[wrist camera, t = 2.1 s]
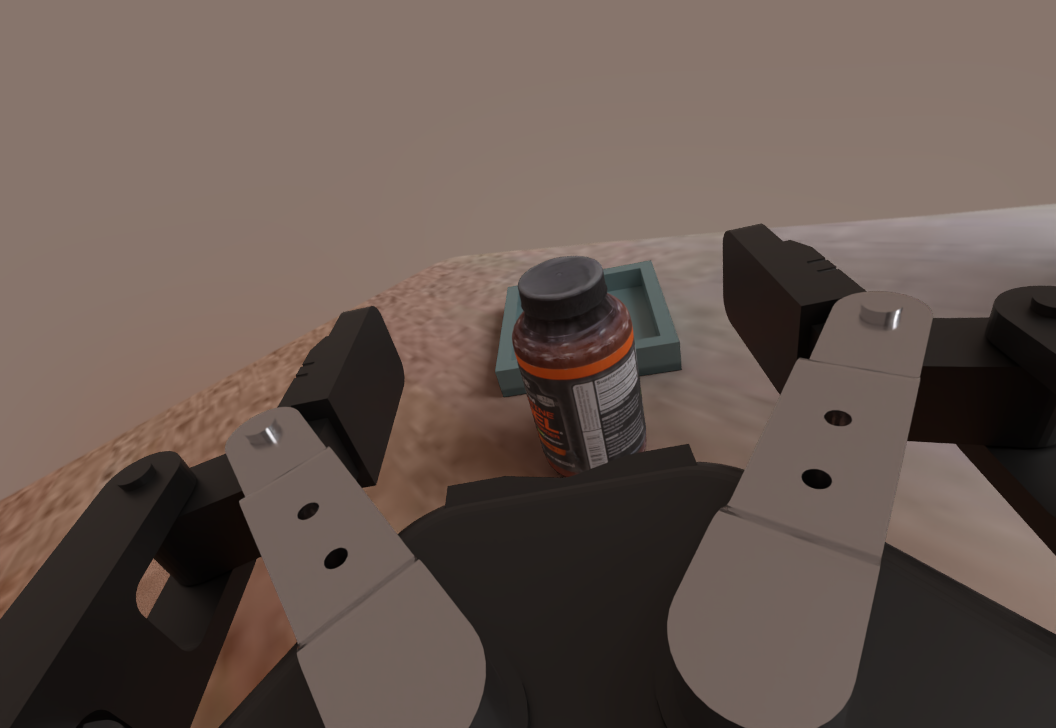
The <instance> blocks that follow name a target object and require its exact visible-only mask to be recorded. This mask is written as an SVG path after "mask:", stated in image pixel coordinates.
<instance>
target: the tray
mask: <svg viewBox="0 0 1056 728" xmlns="http://www.w3.org/2000/svg"><path fill="white" fill-rule="evenodd" d="M603 272H604V278H605V283H606V285H607V288H608V290H607V293H609V294H611V295H613V296H615V297H616V298H618V299H619V300H620V301H621V302H622V303H623V304H624V305H625V306H626V308H627V309H628V311H629V314H630V317H631V321H632V327H633V335H634V341H635V348H636V356H637V363H638V371H639V376H643V375H649V374H656V373H662V372H669V371H675V370H682V369H681V355H680V342H679V339H678V336H677V333H676V330H675V328H674V325H673V322H672V319H671V316H670V313H669V310H668V308H667V305H666V302H665V299H664V296H663V293H662V290H661V287H660V285H659V282H658V279H657V276H656V273H655V270H654V267H653V265H652V262H651V260H650V261H645V262H639V263H634V264H629V265H623V266H618V267H613V268H608V269H603ZM522 312H523V309H522V308H521V300H520V296H519V290H518V285H517V286H512V287H508V290H507V296H506V303H505V310H504V316H503V323H502V330H501V336H500V343H499V349H498V356H497V363H496V369H495V373H496V376H497V379H498V382H499V385H500V388H501V391H502V394H503V397H506V396H513V395H519V394H526V390H525V387H524V383H523V380H522V376H521V373H520V369H519V367H518V363H517V359H516V355H515V351H514V348H513V343H512V332H513V328H514V325H515V323H516V321H517V319H518V318H519V316H520V315H521V314H522Z"/></svg>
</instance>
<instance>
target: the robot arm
mask: <svg viewBox="0 0 1056 728" xmlns="http://www.w3.org/2000/svg"><path fill="white" fill-rule="evenodd" d="M723 298H724V305H725V310H726V313H727V316H728V319H729V321H730V323H731V324H732V326H733V327H734V328H735V330H736V331H737V333H738V334H739V336H740V337H741V339H742V340H743V342H744V343H745V344H746V346H747V347H748V349H749V350H750V352H751V353H752V355H753V356H754V358H755V359H756V361H757V362H758V363H759V365H760V366H761V368H762V369H763V371H764V372H765V374H766V375H767V377H768V378H769V379H770V381H771V382H772V384H773V385H774V387H775V388H776V390H777V391H778V393H779V394H780V397H779V399H778V401H777V403H776V405H775V407H774V409H773V412H772V414H771V416H770V418H769V420H768V422H767V424H766V426H765V428H764V430H763V433H762V435H761V437H760V439H759V441H758V443H757V445H756V447H755V449H754V452H753V454H752V456H751V458H750V460H749V462H748V464H747V466H746V468H745V470H743V469H740V468H737V467H732V466H728V465H723V464H716V463H708V462H696V460H695V458H694V456H693V453H692V451H691V448H690V446H689V444H685V445H680V446H674V447H668V448H663V449H657V450H651V451H646V452H640V453H634V454H629V455H625V456H623V457H620V458H618V459H615V460H612V461H610V462H607V463H605V464H602V465H599V466H597V467H594V468H592V469H589V470H586V471H584V472H581V473H579V474H576V475H573V476H570V477H565V478H551V477H515V476H503V477H498V478H492V479H486V480H480V481H475V482H469V483H463V484H458V485H452V486H448V488H447V496H446V504H445V506H442V507H440V508H438V509H436V510H434V511H432V512H430V513H428V514H426V515H424V516H422V517H421V518H419V519H417V520H416V521H414V522H413V523H411V524H410V525H409V526H407V527H406V528H405V529H403V530H402V531H401V532H400V533H399V534H397V533H396V532H395V531H394V529H393V528H392V527H391V526H390V524H389V523H388V522H387V520H386V519H385V518H384V516H383V515H382V514H381V513H380V511H379V510H378V509H377V507H376V506H375V505H374V503H373V502H372V501H371V500H370V498H369V497H368V496H367V494H366V493H365V492H364V490H363V489H362V488H364V487H370V486H375V485H376V483H377V480H378V476H379V473H380V469H381V466H382V462H383V458H384V455H385V451H386V448H387V444H388V441H389V437H390V433H391V430H392V426H393V423H394V419H395V416H396V412H397V409H398V405H399V401H400V398H401V394H402V391H403V387H404V370H403V366H402V362H401V360H400V357H399V355H398V353H397V350H396V348H395V346H394V343H393V341H392V339H391V336H390V334H389V332H388V329H387V327H386V325H385V323H384V320H383V318H382V316H381V314H380V312H379V310H378V309H377V308H376V307H374V306H371V307H366V308H361V309H357V310H352V311H347V312H343V313H341V315H340V316H339V318H338V320H337V322H336V324H335V326H334V327H333V329H332V331H331V333H330V335H329V336H327V337H325V338H324V339H323V340H321V341H320V342H319V343H318V344H317V345H316V346H315V347H314V348H313V349H311V350H310V352H309V354H308V355H307V357H306V359H305V361H304V362H303V364H302V365H303V367H300V369H299V371H298V373H297V374H296V378H294V380H293V381H292V383H291V385H290V386H289V388H288V390H287V392H286V393H285V395H284V397H283V399H282V400H281V402H280V404H279V406H278V407H277V408H274V409H270V410H267V411H265V412H262V413H260V414H258V415H256V416H254V417H252V418H251V419H249V420H247V421H246V422H245V423H243V424H242V425H241V426H239V427H238V428H237V429H236V430H235V431H234V432H233V433H232V435H231V436H230V437H229V439H228V440H227V442H226V445H225V452H226V454H224V455H221V456H219V457H216V458H214V459H211V460H209V461H206V462H204V463H201V464H199V465H196V466H193V467H191V468H189V467H188V465H187V464H186V463H185V462H184V461H183V459H182V458H181V457H180V456H179V455H178V454H177V453H175V452H172V451H164V452H158V453H155V454H152V455H149V456H146V457H144V458H142V459H140V460H138V461H136V462H134V463H132V464H131V465H129V466H127V467H126V468H124V469H123V470H122V471H120V472H119V473H118V474H116V475H115V476H114V477H113V478H112V479H111V480H110V481H109V482H108V483H107V484H106V485H105V486H104V487H103V488H102V490H101V491H100V492H99V494H98V495H97V496H96V497H95V499H94V500H93V501H92V502H91V504H90V505H89V506H88V508H87V509H86V510H85V511H84V513H83V514H82V515H81V517H80V518H79V519H78V520H77V522H76V523H75V524H74V526H73V527H72V528H71V529H70V531H69V532H68V533H67V535H66V536H65V537H64V538H63V540H62V541H61V542H60V543H59V545H58V546H57V547H56V549H55V550H54V551H53V552H52V554H51V555H50V556H49V558H48V559H47V560H46V561H45V563H44V564H43V565H42V567H41V568H40V569H39V570H38V572H37V573H36V574H35V576H34V577H33V578H32V579H31V581H30V582H29V583H28V585H27V586H26V587H25V588H24V590H23V591H22V592H21V593H20V595H19V596H18V597H17V599H16V600H15V601H14V602H13V604H12V605H11V606H10V608H9V609H8V610H7V611H6V613H5V614H4V615H3V617H2V618H1V619H0V728H190V727H191V724H192V722H193V719H194V716H195V714H196V711H197V709H198V706H199V704H200V701H201V699H202V696H203V694H204V691H205V689H206V686H207V684H208V681H209V679H210V676H211V674H212V671H213V669H214V666H215V663H216V661H217V658H218V656H219V653H220V651H221V648H222V646H223V643H224V641H225V638H226V636H227V633H228V631H229V628H230V626H231V623H232V621H233V618H234V616H235V613H236V611H237V608H238V605H239V603H240V600H241V598H242V595H243V593H244V590H245V588H246V585H247V583H248V580H249V578H250V575H251V573H252V570H253V568H254V565H255V562H256V559H257V558H259V557H262V558H263V561H264V563H265V566H266V568H267V570H268V573H269V575H270V577H271V580H272V582H273V585H274V587H275V589H276V592H277V594H278V596H279V599H280V601H281V603H282V606H283V608H284V611H285V613H286V615H287V618H288V620H289V622H290V625H291V627H292V630H293V632H294V634H295V637H296V640H297V643H296V644H295V645H294V646H293V647H292V648H291V649H290V650H289V651H288V652H287V654H286V655H285V656H284V657H283V658H282V659H281V660H280V661H279V662H278V663H277V664H276V666H275V667H274V668H273V669H272V670H271V671H270V672H269V673H268V674H267V675H266V676H265V677H264V679H263V680H262V681H261V682H260V683H259V684H258V685H257V686H256V687H255V688H254V689H253V691H252V692H251V693H250V694H249V695H248V696H247V697H246V698H245V699H244V700H243V701H242V703H241V704H240V705H239V706H238V707H237V708H236V709H235V710H234V711H233V712H232V713H231V714H230V716H229V717H228V718H227V719H226V720H225V721H224V722H223V723H222V724H221V725H220V726H219V728H1056V634H1054V633H1052V632H1050V631H1048V630H1046V629H1045V628H1043V627H1041V626H1039V625H1037V624H1035V623H1033V622H1032V621H1030V620H1028V619H1026V618H1024V617H1022V616H1021V615H1019V614H1017V613H1015V612H1013V611H1011V610H1009V609H1008V608H1006V607H1004V606H1002V605H1000V604H998V603H997V602H995V601H993V600H991V599H989V598H987V597H985V596H984V595H982V594H980V593H978V592H976V591H974V590H973V589H971V588H969V587H967V586H965V585H963V584H962V583H960V582H958V581H956V580H954V579H952V578H950V577H949V576H947V575H945V574H943V573H941V572H939V571H938V570H936V569H934V568H932V567H930V566H928V565H926V564H925V563H923V562H921V561H919V560H917V559H915V558H914V557H912V556H910V555H908V554H906V553H904V552H903V551H901V550H899V549H897V548H895V547H893V546H891V545H890V544H888V543H886V542H885V539H886V535H887V530H888V526H889V521H890V516H891V512H892V507H893V503H894V498H895V493H896V489H897V484H898V480H899V475H900V470H901V466H902V461H903V457H904V452H905V448H906V443H907V441H917V442H934V443H952V444H956V445H957V446H958V447H959V449H960V450H961V451H962V452H963V453H964V454H965V455H966V456H967V457H968V459H969V460H970V461H971V462H972V463H973V464H974V465H975V466H976V467H977V469H978V470H979V471H980V472H981V473H982V474H983V475H984V476H985V477H986V479H987V480H988V481H989V482H990V483H991V484H992V485H993V486H994V487H995V489H996V490H997V491H998V492H999V493H1000V494H1001V495H1002V496H1003V498H1004V499H1005V500H1006V501H1007V502H1008V503H1009V504H1010V505H1011V506H1012V508H1013V509H1014V510H1015V511H1016V512H1017V513H1018V514H1019V515H1020V516H1021V518H1022V519H1023V520H1024V521H1025V522H1026V523H1027V524H1028V525H1029V526H1030V528H1031V529H1032V530H1033V531H1034V532H1035V533H1036V534H1037V535H1038V536H1039V538H1040V539H1041V540H1042V541H1043V542H1044V543H1045V544H1046V545H1047V546H1048V548H1049V549H1050V550H1051V551H1052V552H1053V553H1054V554H1055V555H1056V286H1027V287H1020V288H1015V289H1011V290H1008V291H1006V292H1004V293H1002V294H1000V295H999V296H998V297H997V298H996V299H995V301H994V305H993V308H992V311H991V314H990V317H989V318H933V313H932V311H931V309H930V308H929V307H928V306H927V305H926V304H925V303H923V302H922V301H920V300H918V299H916V298H913V297H911V296H907V295H904V294H899V293H893V292H883V291H870V292H867V291H865V290H864V289H863V288H862V287H860V286H859V285H858V284H857V283H855V282H854V281H853V280H852V279H851V278H849V277H848V276H847V275H846V274H844V273H843V272H842V271H841V270H839V269H836V266H835V265H833V264H832V263H831V262H830V261H828V260H825V257H823V256H822V255H821V254H820V253H818V252H817V251H816V250H815V249H814V248H812V247H810V246H807V245H804V244H801V243H798V242H795V241H792V240H788V241H782V240H781V239H780V238H779V237H777V236H776V235H775V234H774V233H773V232H772V231H771V230H769V229H768V228H767V227H766V226H765V225H763V224H757V225H752V226H748V227H743V228H739V229H734V230H729V231H726V232H725V234H724V237H723ZM153 558H154V559H155V560H156V561H157V562H158V563H159V564H160V565H161V566H162V567H163V568H164V569H165V570H166V571H167V572H168V573H169V574H170V577H169V578H168V580H167V582H166V584H165V586H164V588H163V590H162V591H161V593H160V595H159V597H158V599H157V601H156V603H155V604H154V606H153V608H152V610H151V612H150V614H149V616H148V617H147V619H146V618H145V617H144V616H143V615H142V614H141V613H140V611H139V610H138V607H137V603H136V591H137V587H138V584H139V582H140V580H141V578H142V577H143V575H144V573H145V571H146V570H147V568H148V566H149V565H150V563H151V561H152V559H153Z"/></svg>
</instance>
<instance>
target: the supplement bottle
mask: <svg viewBox="0 0 1056 728" xmlns="http://www.w3.org/2000/svg"><path fill="white" fill-rule="evenodd" d="M518 290H519V296H520V300H521V308H522V309H523V312H522V314H521V315H520V316H519V318H518V319H517V321H516V323H515V325H514V328H513V332H512V343H513V348H514V351H515V355H516V359H517V363H518V367H519V369H520V373H521V376H522V380H523V383H524V387H525V390H526V393H527V397H528V400H529V403H530V407H531V410H532V413H533V417H534V421H535V424H536V428H537V431H538V435H539V438H540V441H541V444H542V448H543V451H544V453H545V455H546V458H547V460H548V462H549V463H550V465H551V466H552V467H553V468H554V469H555V470H556V471H557V472H558V473H560V474H561V475H563V476H565V477H570V476H573V475H576V474H579V473H581V472H584V471H586V470H589V469H592V468H594V467H597V466H599V465H602V464H605V463H607V462H610V461H612V460H615V459H618V458H620V457H623V456H625V455H629V454H634V453H640V452H644V450H645V447H646V425H645V418H644V410H643V403H642V395H641V387H640V378H639V371H638V363H637V356H636V348H635V341H634V335H633V327H632V321H631V317H630V314H629V311H628V309H627V308H626V306H625V305H624V304H623V303H622V302H621V301H620V300H619V299H618V298H616V297H615V296H613V295H611V294H609V293H607V290H608V288H607V285H606V283H605V278H604V272H603V268H602V266H601V264H600V263H599V262H597V261H596V260H595V259H591V258H589V257H584V256H567V257H558V258H554V259H550V260H547V261H545V262H543V263H540V264H538V265H536V266H534V267H532V268H530V269H529V270H528V271H527V272H525V273H524V274H523V275H522V276H521V278H520V280H519V282H518Z"/></svg>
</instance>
